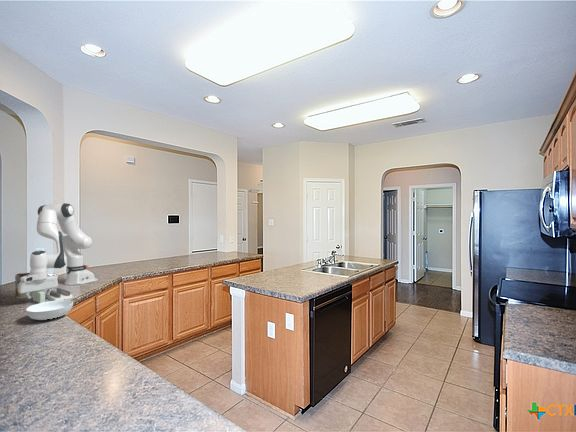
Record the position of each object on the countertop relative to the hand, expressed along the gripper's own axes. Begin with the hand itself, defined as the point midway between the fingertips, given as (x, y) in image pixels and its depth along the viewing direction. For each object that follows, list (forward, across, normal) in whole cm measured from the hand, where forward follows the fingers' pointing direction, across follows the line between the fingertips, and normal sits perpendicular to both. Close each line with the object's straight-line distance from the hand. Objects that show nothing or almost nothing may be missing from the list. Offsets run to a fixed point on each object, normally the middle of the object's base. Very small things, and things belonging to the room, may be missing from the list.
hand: (38, 296), depth 192 cm
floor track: (+3, -11, 0) cm, 11 cm away
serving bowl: (+4, +7, +38) cm, 38 cm away
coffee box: (+3, +1, -20) cm, 20 cm away
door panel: (+3, 0, 0) cm, 3 cm away
